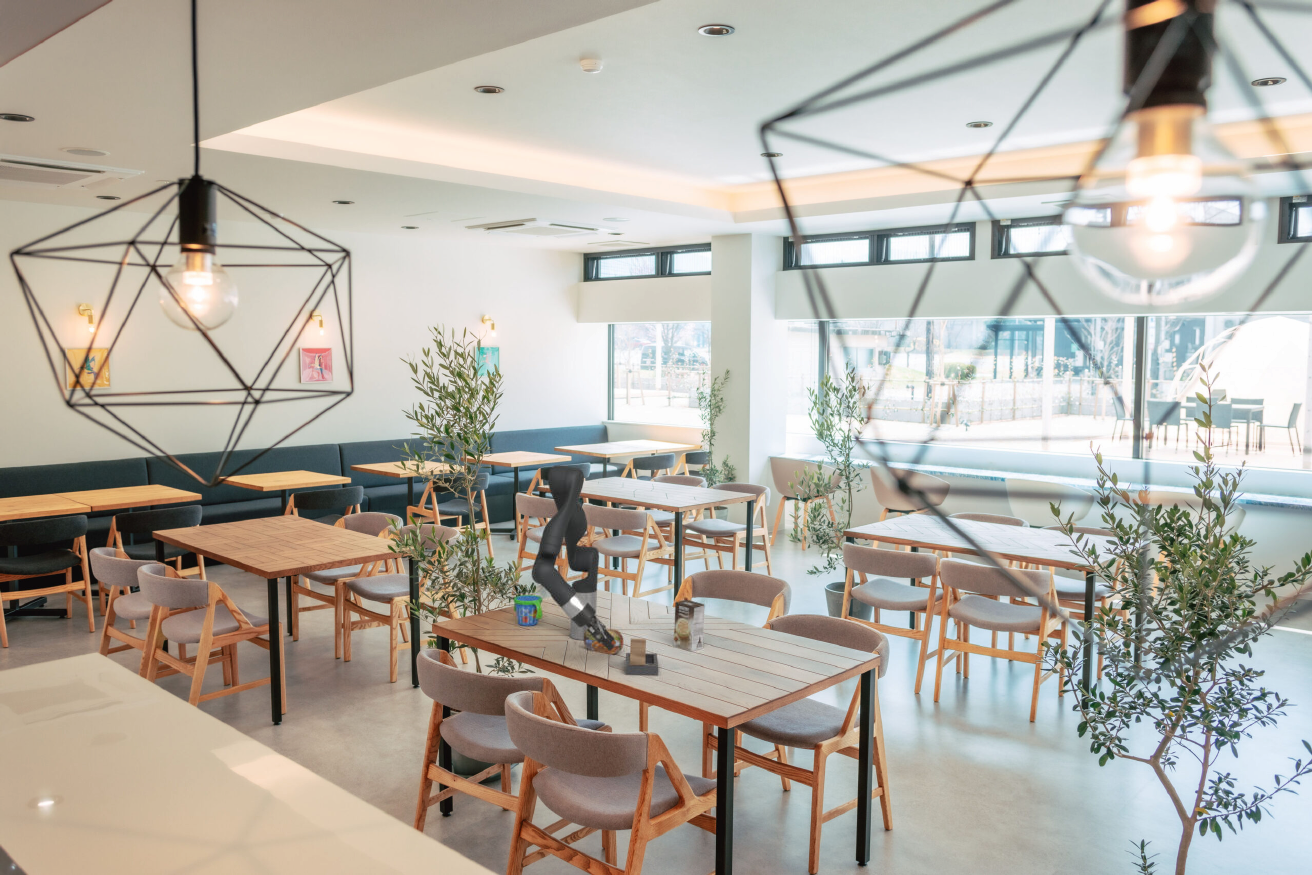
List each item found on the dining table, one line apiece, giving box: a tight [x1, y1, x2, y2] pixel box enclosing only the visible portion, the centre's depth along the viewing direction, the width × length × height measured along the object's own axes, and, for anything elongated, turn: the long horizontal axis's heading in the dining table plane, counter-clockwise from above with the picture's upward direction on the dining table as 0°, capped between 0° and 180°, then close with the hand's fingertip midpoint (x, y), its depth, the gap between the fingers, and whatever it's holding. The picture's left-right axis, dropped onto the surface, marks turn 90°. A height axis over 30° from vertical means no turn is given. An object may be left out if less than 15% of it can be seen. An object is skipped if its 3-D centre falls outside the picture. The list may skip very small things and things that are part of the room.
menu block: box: [629, 638, 647, 665], centre depth 301 cm, size 4×5×10 cm
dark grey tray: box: [625, 652, 659, 677], centre depth 302 cm, size 14×10×3 cm
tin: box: [582, 627, 624, 655], centre depth 319 cm, size 15×3×8 cm, turn 62°
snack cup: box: [513, 594, 543, 627], centre depth 352 cm, size 16×10×10 cm
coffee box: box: [673, 599, 705, 652], centre depth 328 cm, size 9×6×16 cm
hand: (612, 644), depth 301 cm, fingers open, 8 cm apart
